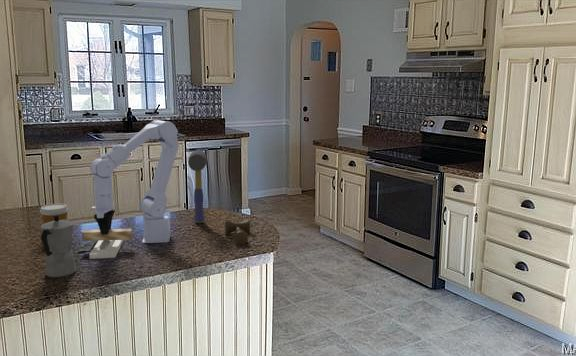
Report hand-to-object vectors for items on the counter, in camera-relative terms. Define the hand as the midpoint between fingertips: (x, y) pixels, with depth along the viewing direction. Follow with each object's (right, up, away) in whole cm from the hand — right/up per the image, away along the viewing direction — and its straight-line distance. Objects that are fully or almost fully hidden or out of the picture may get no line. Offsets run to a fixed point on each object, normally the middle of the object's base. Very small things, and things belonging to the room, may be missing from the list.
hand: (105, 232), depth 167 cm
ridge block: (0, -6, +1) cm, 6 cm away
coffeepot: (-7, -10, -19) cm, 23 cm away
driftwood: (-9, -5, +9) cm, 14 cm away
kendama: (+44, -4, +18) cm, 47 cm away
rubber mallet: (+26, 0, +34) cm, 43 cm away
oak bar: (0, -2, 0) cm, 2 cm away
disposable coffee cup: (-23, -4, +13) cm, 27 cm away
